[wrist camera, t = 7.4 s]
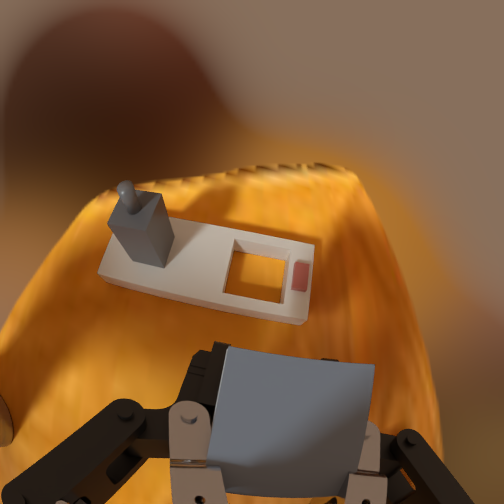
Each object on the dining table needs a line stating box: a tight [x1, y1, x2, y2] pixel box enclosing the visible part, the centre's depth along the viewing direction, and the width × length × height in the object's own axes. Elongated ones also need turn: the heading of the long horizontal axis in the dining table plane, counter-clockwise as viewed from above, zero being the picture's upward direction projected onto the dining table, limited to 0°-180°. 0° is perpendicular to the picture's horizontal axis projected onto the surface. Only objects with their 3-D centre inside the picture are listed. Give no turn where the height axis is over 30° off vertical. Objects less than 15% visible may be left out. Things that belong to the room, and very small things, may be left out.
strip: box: [97, 181, 314, 325], centre depth 26 cm, size 24×9×14 cm, turn 80°
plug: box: [206, 346, 375, 498], centre depth 10 cm, size 4×4×10 cm
